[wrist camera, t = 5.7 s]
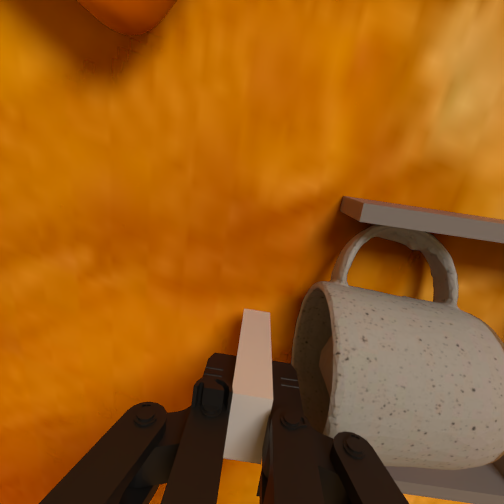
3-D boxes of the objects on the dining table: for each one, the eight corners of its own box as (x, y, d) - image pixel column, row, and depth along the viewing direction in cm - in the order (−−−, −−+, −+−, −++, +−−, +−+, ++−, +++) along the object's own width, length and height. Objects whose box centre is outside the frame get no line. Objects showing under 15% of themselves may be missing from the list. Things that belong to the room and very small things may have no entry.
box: (292, 426, 20) (298, 478, 17) (343, 196, 16) (363, 202, 13) (485, 455, 20) (529, 511, 17) (581, 231, 17) (663, 247, 13)
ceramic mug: (414, 395, 19) (511, 534, 12) (284, 378, 19) (300, 506, 12) (465, 229, 17) (627, 273, 9) (315, 209, 17) (359, 237, 9)
